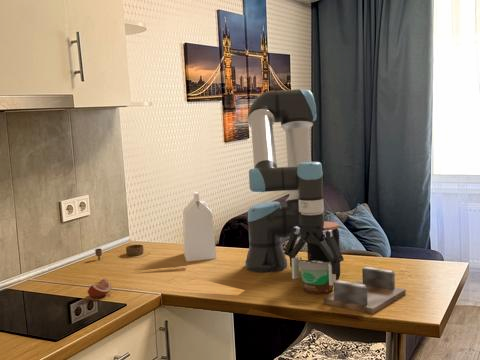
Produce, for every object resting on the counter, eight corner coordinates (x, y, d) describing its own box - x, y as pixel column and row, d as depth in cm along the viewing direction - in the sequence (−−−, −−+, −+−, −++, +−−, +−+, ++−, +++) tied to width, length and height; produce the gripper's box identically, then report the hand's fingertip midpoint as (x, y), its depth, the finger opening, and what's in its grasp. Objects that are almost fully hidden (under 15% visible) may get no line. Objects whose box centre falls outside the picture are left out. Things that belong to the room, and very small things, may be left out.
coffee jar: (316, 271, 204) (314, 220, 201) (345, 274, 198) (343, 222, 196) (303, 279, 195) (301, 226, 192) (333, 283, 189) (331, 228, 187)
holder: (323, 303, 171) (322, 280, 170) (358, 285, 186) (357, 264, 185) (372, 314, 160) (372, 289, 159) (405, 294, 175) (405, 271, 174)
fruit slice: (98, 291, 193) (97, 277, 192) (116, 293, 191) (115, 278, 190) (83, 300, 185) (82, 284, 184) (102, 301, 183) (101, 285, 182)
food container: (292, 293, 182) (291, 261, 180) (300, 287, 187) (299, 256, 186) (329, 298, 175) (328, 265, 174) (337, 291, 180) (336, 260, 179)
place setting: (144, 263, 228) (143, 248, 227) (94, 265, 229) (93, 250, 228) (154, 252, 245) (153, 238, 244) (107, 254, 246) (106, 240, 246)
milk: (183, 255, 234) (179, 191, 231) (212, 253, 236) (208, 189, 233) (186, 263, 223) (182, 195, 219) (216, 260, 225) (212, 193, 221)
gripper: (271, 211, 184) (274, 278, 186) (340, 218, 167) (342, 290, 169) (285, 208, 189) (288, 272, 191) (353, 213, 173) (355, 284, 175)
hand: (313, 281), depth 180 cm, fingers open, 13 cm apart
